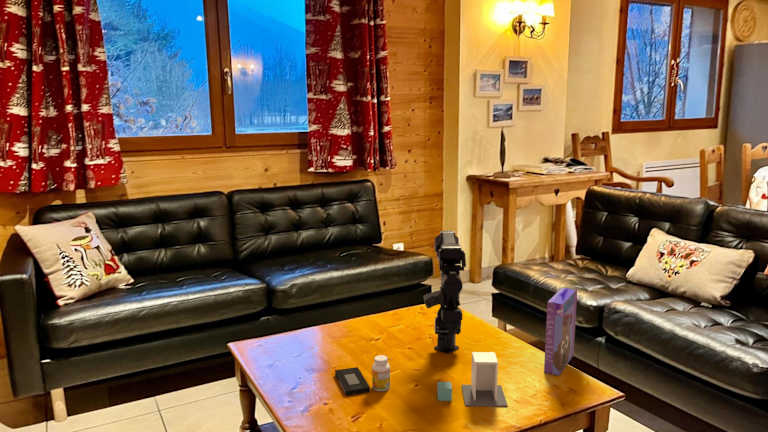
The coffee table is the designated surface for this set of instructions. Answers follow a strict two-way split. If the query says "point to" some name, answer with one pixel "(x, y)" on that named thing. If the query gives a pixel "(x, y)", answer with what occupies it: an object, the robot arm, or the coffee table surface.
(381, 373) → the supplement bottle
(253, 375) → the coffee table surface
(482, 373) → the white boxy piece
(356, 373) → the vhs tape
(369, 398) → the coffee table surface
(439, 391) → the teal cube
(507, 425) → the coffee table surface
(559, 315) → the cereal box
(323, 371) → the coffee table surface
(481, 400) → the mat
